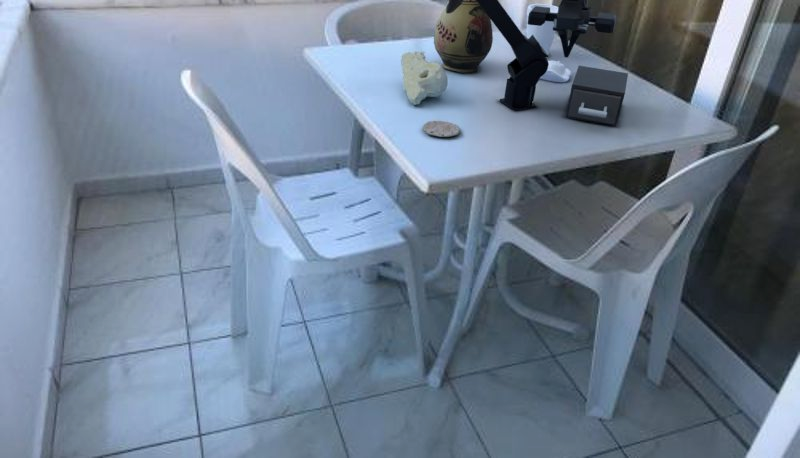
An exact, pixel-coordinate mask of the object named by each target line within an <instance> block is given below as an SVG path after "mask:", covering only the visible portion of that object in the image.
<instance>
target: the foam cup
mask: <svg viewBox="0 0 800 458" xmlns="http://www.w3.org/2000/svg"><path fill="white" fill-rule="evenodd" d="M535 6H538V7H548V8H550V12H551V13H558V7H559V6H556V5H553V4H548V3H531V4H529V5H527V8H526V9H527V10H526V34H525V37H527V38H528V39H529V38H530V37H531V36H532V35H533V36H534V37H535V38H536V40H537V41H538V42H539V44H540V46H542V48H543V49H544V50H545V52H546V53H547V55H548V56H549V54H550V51H551V47H552V44H553V43H554V42H553V41H554V39H555V35H556V32H557V31H554V30H553V27H554V22H552V21H545V23H544V24H543V25H541V26H537V25H529V24H528V16H529V13H530V12H531V10H532V9H533V8H534V7H535Z"/></svg>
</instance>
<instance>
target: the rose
mask: <svg viewBox="0 0 800 458" xmlns="http://www.w3.org/2000/svg"><path fill="white" fill-rule="evenodd" d="M547 61H548V63H549V66H548V69H547V71H546V73H545V74H544V75H543V76H541V77H540V79H539V80H545V81H549V82H555V83H567V82H568V81H569V80H570V76H571V75H572V72H571V70H570V69H569V68H568V67H566V66H565V65H564V64H563V63H561V61H560V60H557V61H555V60H547Z"/></svg>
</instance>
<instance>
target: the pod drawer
mask: <svg viewBox="0 0 800 458" xmlns="http://www.w3.org/2000/svg"><path fill="white" fill-rule="evenodd" d="M620 100H621V97H620V96H618V95H613V94H603V93H597V92H591V91H587V90H583V89H574V90H573V95H572V99H571V104H570V109H569V113H568V116H570V117H576V118H581V119H587V120H592V121H598V122H604V123H609V124H614V123H615V119H616V116H617V112H618V108H619V104H620Z"/></svg>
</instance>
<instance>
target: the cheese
mask: <svg viewBox="0 0 800 458" xmlns="http://www.w3.org/2000/svg"><path fill="white" fill-rule="evenodd" d="M400 62H401V69H402V84H403V86H402V87H403V90H404V92H406V95H407V97H408V99H409V101H410V103H411V104H412V105H414V106H416V105H420V104H421V102H422V100H425V99H426V98H430V97H431V98H440V96H441V95H442V94H443V93H444V92H445V91H446V90H447V88H448V84H449V83H448V75H447V73H446V70H445V68H444V66H443V65H442V64H441V63H438V62H437V61H435V62H434V61H433V62H428V61H427V60H426V55H425V51H420V52H417V51H416V50H414V51H413V52H409V51H407V52H404V53H402V55H401V59H400Z"/></svg>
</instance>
